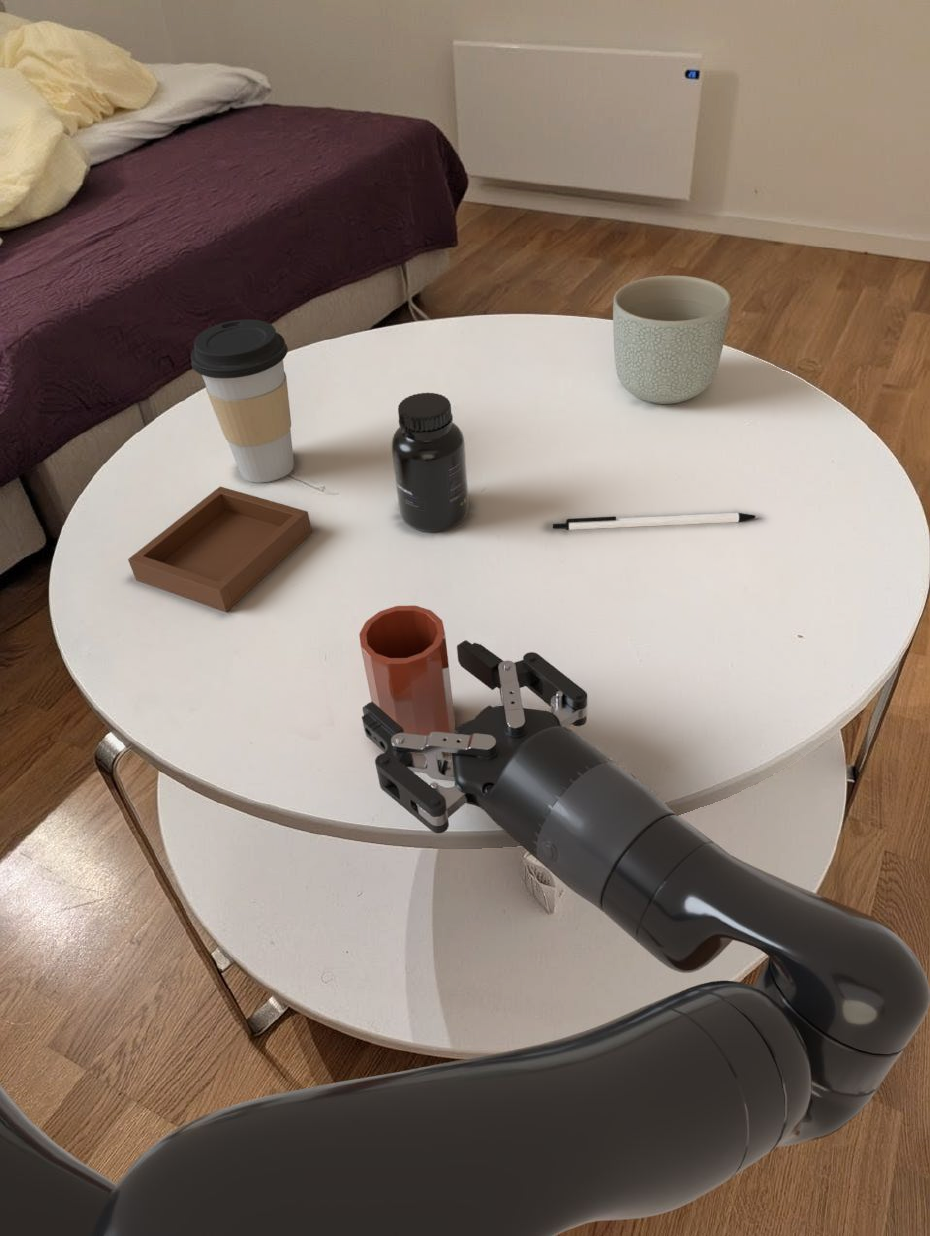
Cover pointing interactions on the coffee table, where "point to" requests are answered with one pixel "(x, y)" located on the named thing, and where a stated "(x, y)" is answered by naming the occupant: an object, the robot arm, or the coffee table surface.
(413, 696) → the tumbler
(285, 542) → the tray
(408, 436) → the supplement bottle
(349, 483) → the coffee table surface
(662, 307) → the planter
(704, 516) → the pen
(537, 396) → the coffee table surface
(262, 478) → the coffee cup
